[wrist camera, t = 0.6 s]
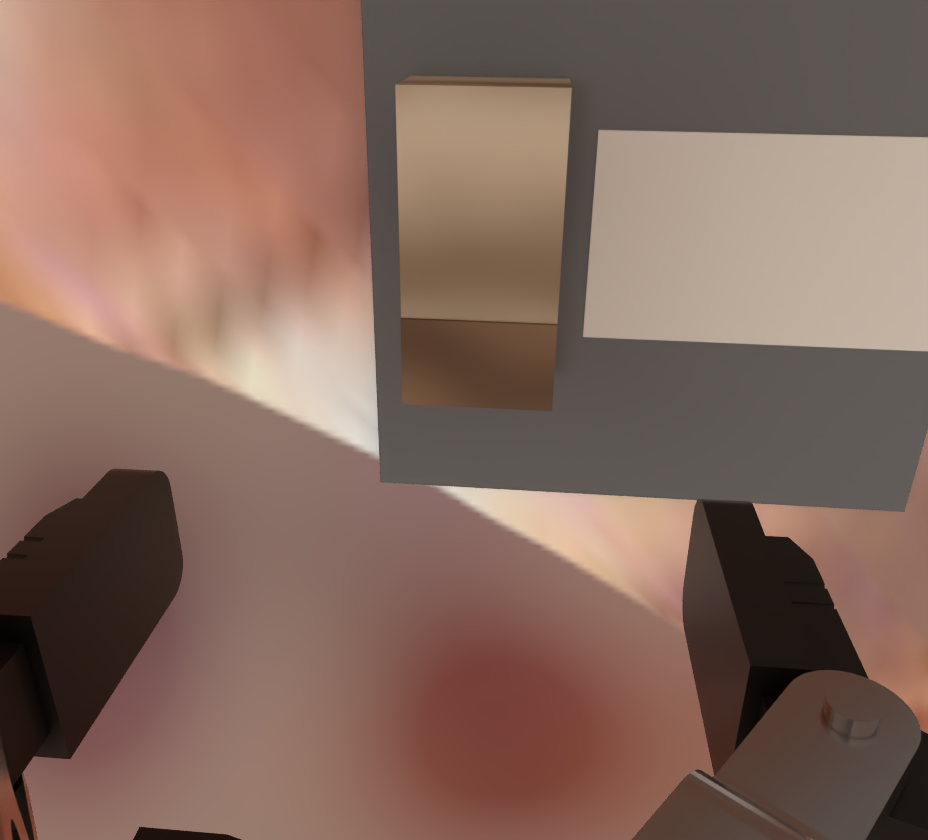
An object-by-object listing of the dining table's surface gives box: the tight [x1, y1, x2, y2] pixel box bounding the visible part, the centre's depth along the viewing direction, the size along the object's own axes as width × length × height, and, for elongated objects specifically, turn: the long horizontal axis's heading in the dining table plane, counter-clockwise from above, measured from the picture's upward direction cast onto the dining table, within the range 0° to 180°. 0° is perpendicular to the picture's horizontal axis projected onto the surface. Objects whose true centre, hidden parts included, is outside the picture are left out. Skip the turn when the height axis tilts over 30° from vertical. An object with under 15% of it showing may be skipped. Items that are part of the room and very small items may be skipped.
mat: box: [361, 0, 928, 512], centre depth 29 cm, size 20×20×1 cm
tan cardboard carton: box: [395, 76, 572, 411], centre depth 28 cm, size 10×5×3 cm, turn 179°
